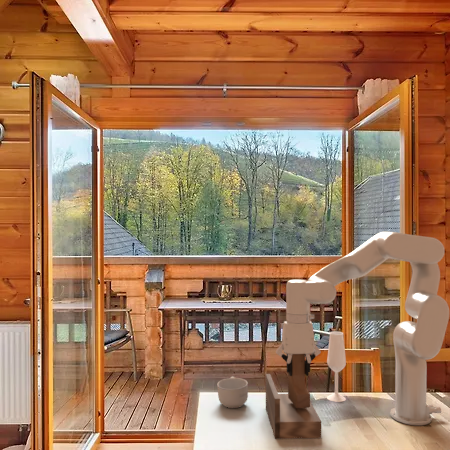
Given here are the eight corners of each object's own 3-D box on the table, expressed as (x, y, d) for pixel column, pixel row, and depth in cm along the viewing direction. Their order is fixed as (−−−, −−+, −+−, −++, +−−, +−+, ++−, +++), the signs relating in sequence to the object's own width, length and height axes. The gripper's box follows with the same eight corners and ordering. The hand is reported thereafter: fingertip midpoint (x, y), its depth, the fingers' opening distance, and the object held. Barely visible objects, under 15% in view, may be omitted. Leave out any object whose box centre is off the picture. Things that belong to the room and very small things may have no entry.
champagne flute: (345, 395, 171) (345, 331, 171) (346, 402, 165) (346, 335, 164) (326, 394, 172) (327, 330, 172) (327, 401, 166) (327, 334, 166)
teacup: (245, 412, 156) (245, 389, 156) (214, 409, 158) (214, 386, 158) (251, 396, 170) (251, 375, 170) (222, 394, 172) (222, 373, 172)
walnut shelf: (305, 407, 160) (305, 373, 160) (321, 438, 138) (321, 398, 138) (265, 408, 160) (265, 373, 159) (274, 438, 138) (275, 398, 137)
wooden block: (310, 407, 145) (310, 350, 145) (296, 409, 144) (296, 351, 144) (300, 396, 154) (300, 343, 153) (287, 398, 153) (287, 344, 153)
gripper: (321, 315, 152) (321, 370, 153) (270, 316, 152) (270, 371, 152) (327, 320, 145) (327, 378, 145) (273, 321, 144) (273, 379, 145)
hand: (298, 373), depth 149 cm, fingers closed on wooden block, 4 cm apart
